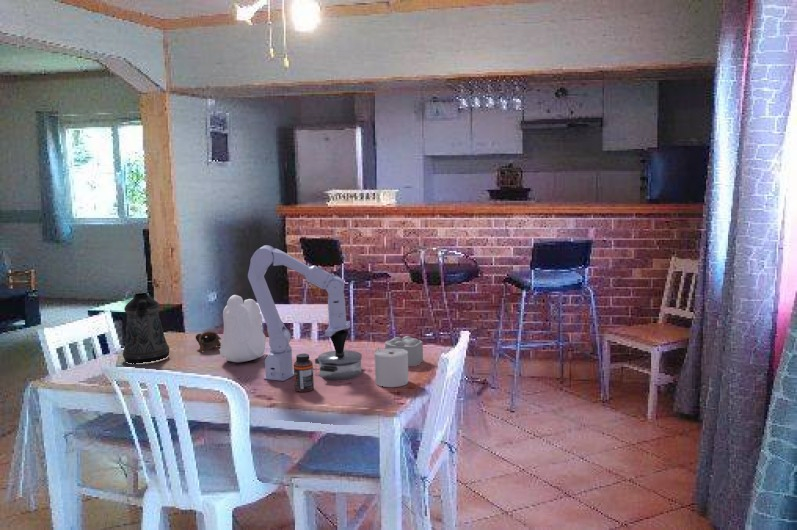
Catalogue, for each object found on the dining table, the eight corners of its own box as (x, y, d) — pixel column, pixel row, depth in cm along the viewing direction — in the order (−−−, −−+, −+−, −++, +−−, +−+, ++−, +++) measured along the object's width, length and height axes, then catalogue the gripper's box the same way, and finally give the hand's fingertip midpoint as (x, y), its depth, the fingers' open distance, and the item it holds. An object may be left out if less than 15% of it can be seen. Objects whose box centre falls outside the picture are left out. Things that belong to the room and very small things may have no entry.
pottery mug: (228, 348, 283) (225, 333, 278) (213, 364, 277) (209, 348, 271) (204, 338, 287) (200, 323, 282) (188, 353, 281) (184, 338, 276)
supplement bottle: (293, 388, 227) (291, 353, 226) (311, 385, 229) (309, 351, 228) (297, 393, 222) (295, 358, 220) (316, 391, 224) (314, 355, 222)
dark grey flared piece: (157, 351, 280) (152, 288, 276) (181, 359, 266) (176, 293, 263) (115, 360, 269) (110, 294, 265) (139, 369, 255) (133, 300, 251)
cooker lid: (349, 367, 232) (349, 360, 231) (309, 363, 237) (309, 356, 237) (368, 355, 245) (368, 348, 244) (330, 352, 251) (330, 345, 250)
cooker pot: (346, 383, 230) (345, 368, 230) (303, 379, 237) (303, 364, 236) (371, 367, 248) (370, 353, 247) (330, 364, 254) (330, 350, 253)
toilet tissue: (400, 389, 223) (399, 358, 222) (366, 385, 228) (364, 354, 227) (414, 379, 233) (413, 349, 231) (381, 376, 238) (380, 346, 236)
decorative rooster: (246, 369, 251) (241, 299, 247) (210, 365, 257) (205, 297, 254) (286, 351, 273) (283, 287, 270) (252, 348, 280) (248, 285, 276)
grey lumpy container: (414, 367, 246) (414, 343, 245) (380, 364, 251) (379, 340, 250) (425, 359, 255) (424, 336, 254) (392, 357, 260) (391, 333, 259)
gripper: (337, 318, 231) (340, 359, 233) (357, 308, 244) (359, 347, 246) (318, 317, 234) (321, 357, 235) (339, 308, 247) (341, 346, 249)
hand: (339, 352), depth 241 cm, fingers closed, pressing on cooker lid
